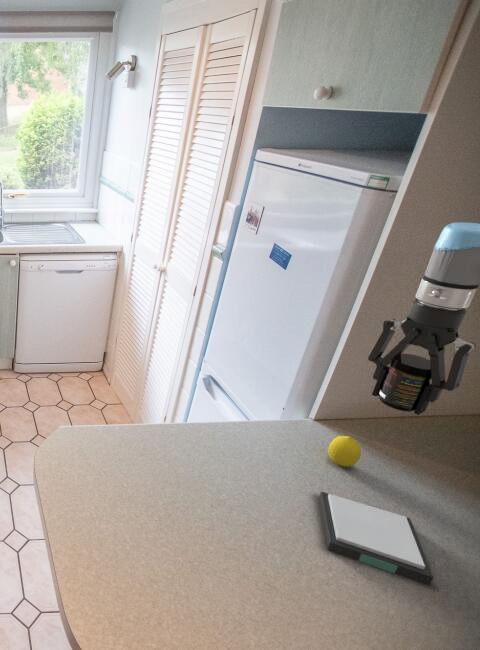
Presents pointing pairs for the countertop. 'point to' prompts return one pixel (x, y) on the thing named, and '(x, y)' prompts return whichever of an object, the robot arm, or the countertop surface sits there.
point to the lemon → (344, 451)
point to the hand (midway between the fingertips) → (397, 402)
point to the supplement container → (405, 382)
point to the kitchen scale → (373, 537)
